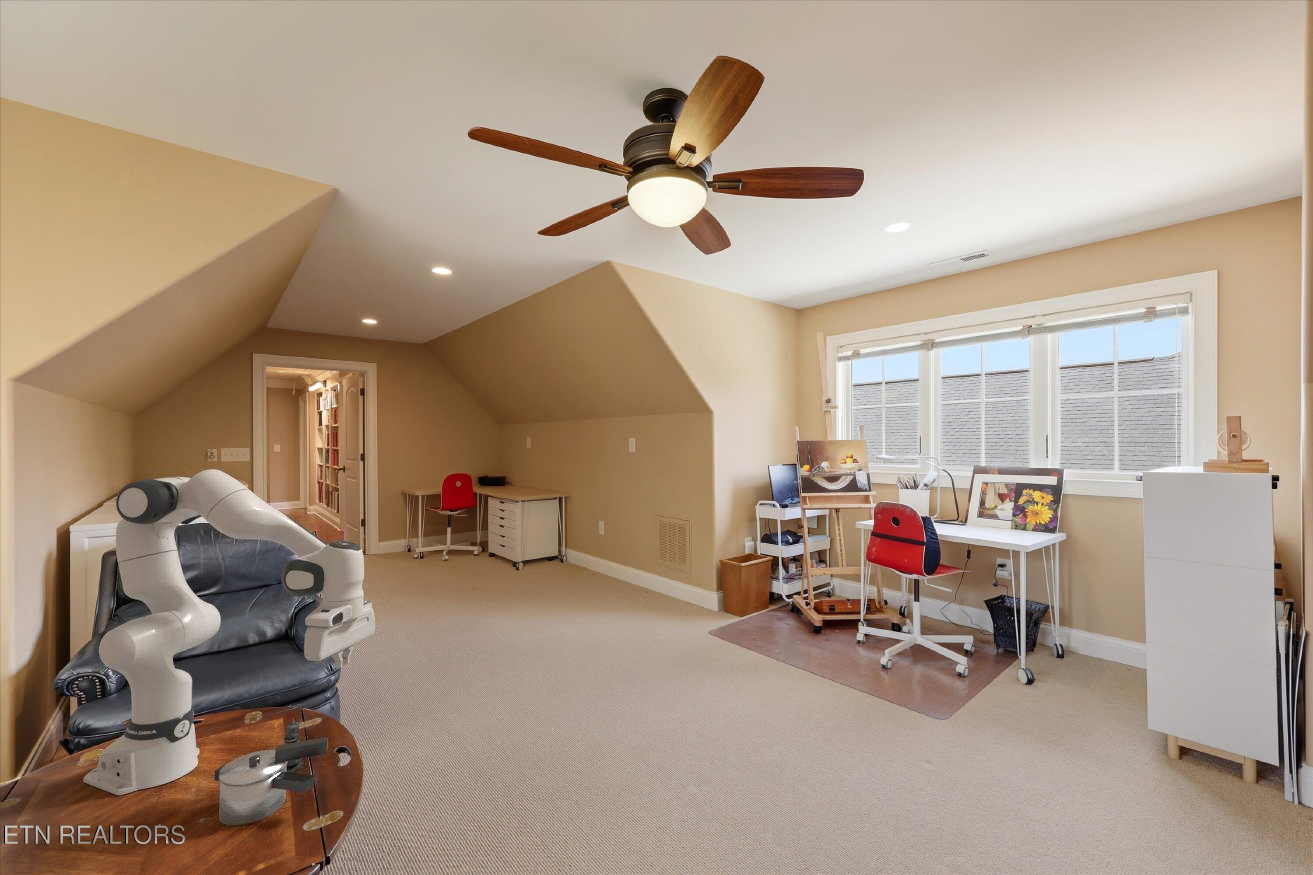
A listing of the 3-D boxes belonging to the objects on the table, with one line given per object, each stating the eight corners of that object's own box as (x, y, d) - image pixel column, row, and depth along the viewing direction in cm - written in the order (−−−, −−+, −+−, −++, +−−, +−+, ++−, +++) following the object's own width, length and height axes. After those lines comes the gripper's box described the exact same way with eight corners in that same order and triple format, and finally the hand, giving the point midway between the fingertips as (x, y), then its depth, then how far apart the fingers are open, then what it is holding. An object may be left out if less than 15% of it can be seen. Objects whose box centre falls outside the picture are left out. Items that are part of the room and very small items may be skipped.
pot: (193, 819, 121) (194, 781, 121) (242, 786, 133) (243, 751, 133) (286, 833, 117) (287, 794, 118) (329, 797, 129) (330, 762, 129)
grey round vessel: (291, 775, 138) (293, 725, 138) (271, 772, 139) (272, 723, 139) (311, 762, 143) (312, 714, 144) (291, 759, 145) (292, 712, 145)
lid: (211, 791, 117) (212, 773, 118) (227, 761, 129) (227, 744, 129) (324, 769, 126) (324, 752, 126) (329, 742, 137) (329, 726, 137)
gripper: (360, 596, 149) (359, 649, 149) (299, 620, 129) (297, 681, 129) (382, 598, 148) (381, 651, 148) (324, 622, 128) (322, 683, 128)
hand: (341, 665), depth 138 cm, fingers closed
